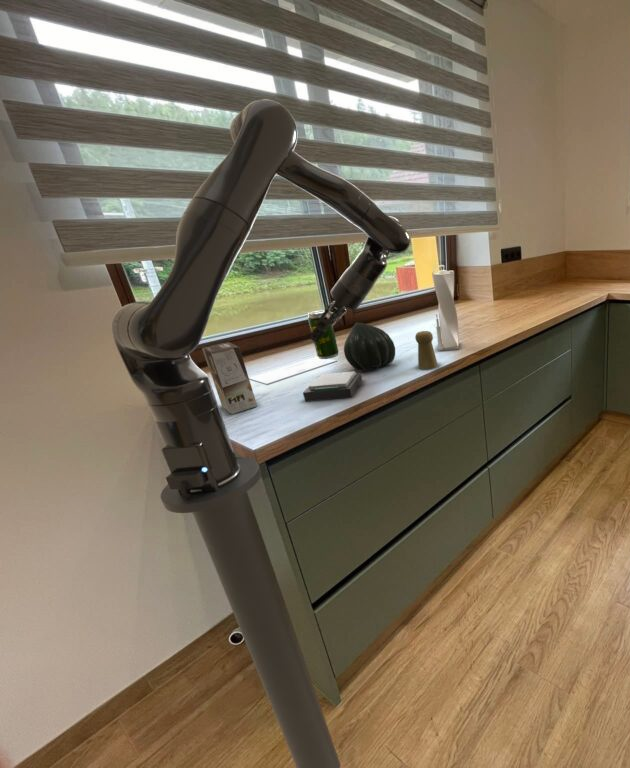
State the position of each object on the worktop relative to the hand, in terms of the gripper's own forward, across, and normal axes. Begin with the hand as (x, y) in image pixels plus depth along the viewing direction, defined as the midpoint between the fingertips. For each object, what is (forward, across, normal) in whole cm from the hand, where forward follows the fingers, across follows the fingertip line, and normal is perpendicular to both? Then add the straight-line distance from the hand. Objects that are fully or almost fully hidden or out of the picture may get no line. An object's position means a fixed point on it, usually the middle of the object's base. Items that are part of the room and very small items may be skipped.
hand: (316, 336), depth 112 cm
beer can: (+3, 0, +5) cm, 6 cm away
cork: (-7, -15, +29) cm, 33 cm away
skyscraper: (-11, -35, +34) cm, 49 cm away
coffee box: (+26, +6, -4) cm, 27 cm away
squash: (+6, -19, +16) cm, 26 cm away
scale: (+10, 0, +12) cm, 16 cm away
